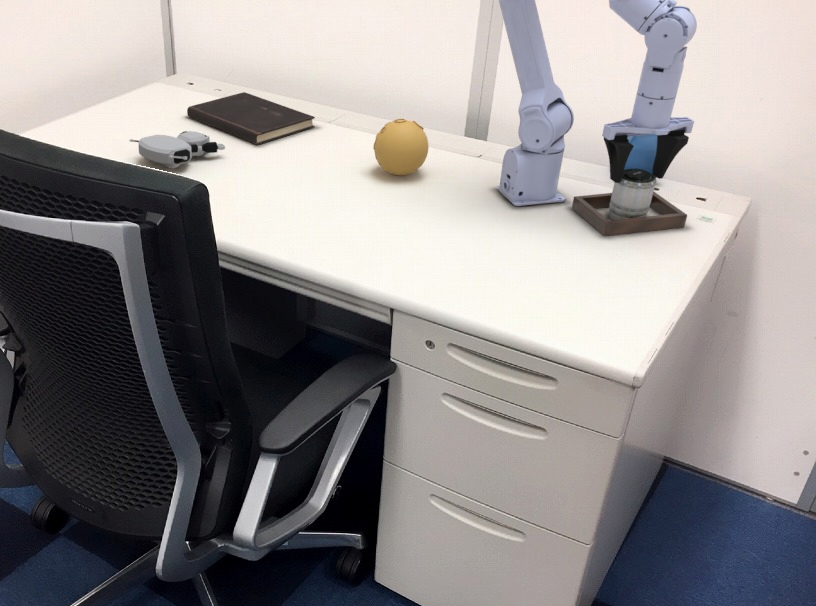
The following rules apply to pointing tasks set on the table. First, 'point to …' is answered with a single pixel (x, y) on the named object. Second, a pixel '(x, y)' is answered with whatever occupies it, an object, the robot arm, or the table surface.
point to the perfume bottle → (642, 152)
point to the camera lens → (632, 194)
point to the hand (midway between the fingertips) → (636, 178)
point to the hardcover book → (251, 117)
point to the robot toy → (176, 148)
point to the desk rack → (666, 220)
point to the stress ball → (401, 147)
